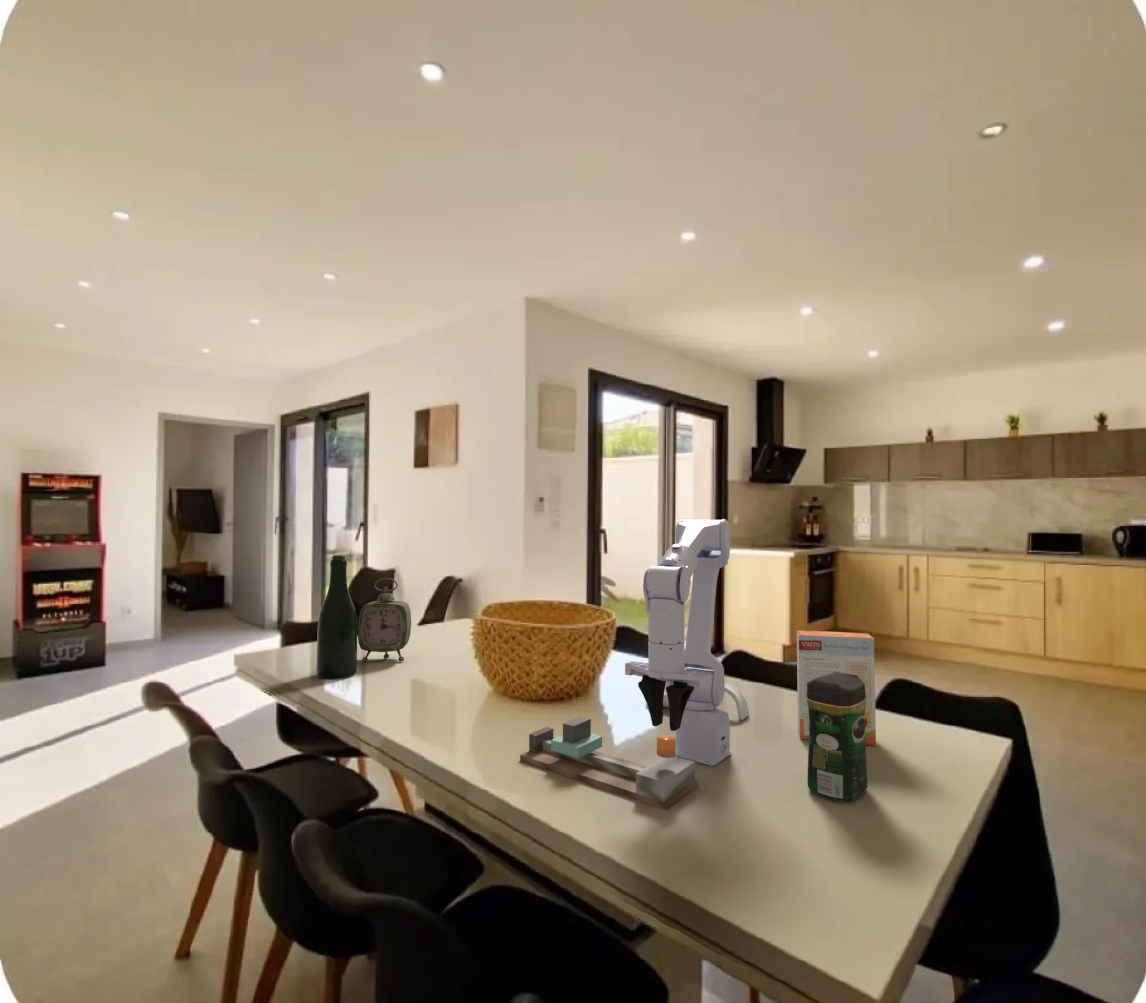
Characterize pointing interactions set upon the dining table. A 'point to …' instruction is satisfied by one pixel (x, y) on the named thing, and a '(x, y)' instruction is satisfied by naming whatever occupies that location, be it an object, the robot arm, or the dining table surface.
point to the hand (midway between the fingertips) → (666, 726)
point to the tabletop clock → (384, 624)
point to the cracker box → (835, 669)
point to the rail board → (617, 772)
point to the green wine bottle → (337, 627)
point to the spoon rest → (733, 692)
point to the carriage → (576, 738)
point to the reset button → (666, 746)
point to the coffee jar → (837, 736)
